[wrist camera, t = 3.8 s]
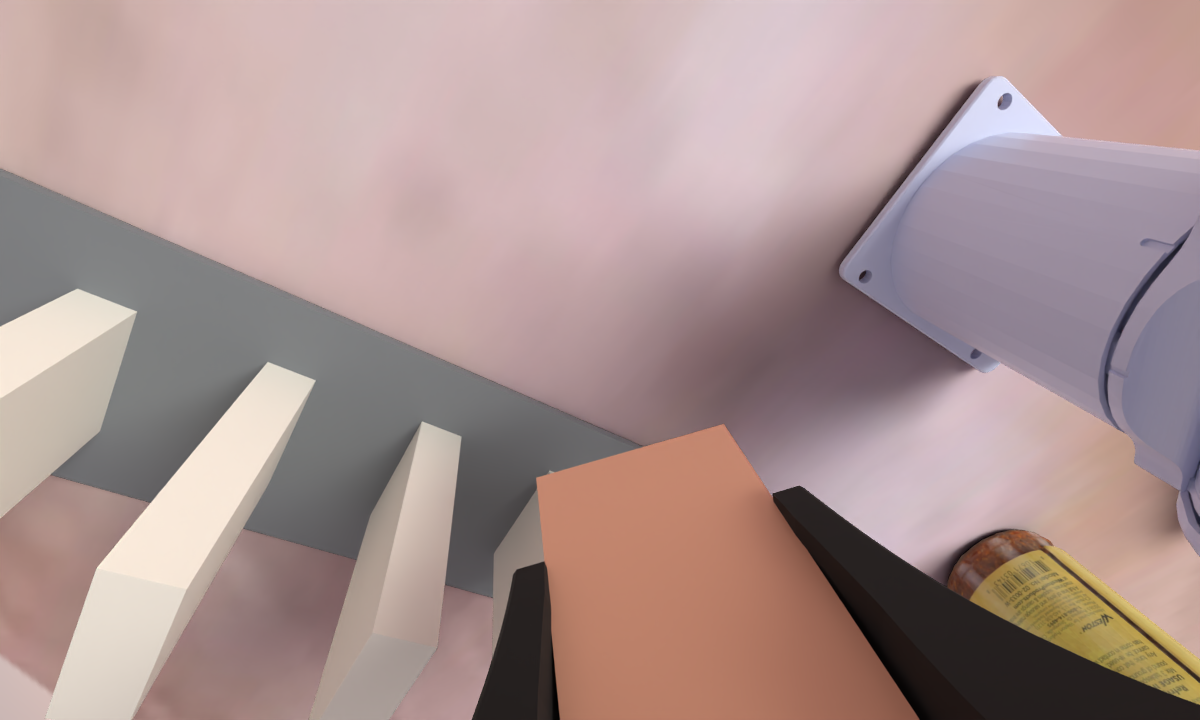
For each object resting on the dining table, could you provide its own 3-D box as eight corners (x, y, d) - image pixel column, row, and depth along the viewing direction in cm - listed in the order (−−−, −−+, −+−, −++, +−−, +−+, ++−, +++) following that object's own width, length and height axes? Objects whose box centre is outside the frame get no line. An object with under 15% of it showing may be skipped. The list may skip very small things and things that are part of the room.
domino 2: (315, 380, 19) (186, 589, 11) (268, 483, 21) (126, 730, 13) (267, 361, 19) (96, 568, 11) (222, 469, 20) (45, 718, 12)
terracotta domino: (536, 477, 14) (587, 997, 6) (724, 423, 14) (1010, 857, 6) (552, 522, 15) (616, 1036, 7) (730, 470, 15) (993, 909, 7)
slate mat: (765, 499, 26) (769, 505, 26) (649, 635, 29) (651, 641, 29) (-30, 155, 15) (-42, 157, 15) (-79, 429, 18) (-90, 435, 18)
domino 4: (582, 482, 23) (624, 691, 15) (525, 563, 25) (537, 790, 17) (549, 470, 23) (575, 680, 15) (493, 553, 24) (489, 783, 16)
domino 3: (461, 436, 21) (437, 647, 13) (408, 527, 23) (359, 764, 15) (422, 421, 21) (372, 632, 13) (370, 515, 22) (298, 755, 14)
